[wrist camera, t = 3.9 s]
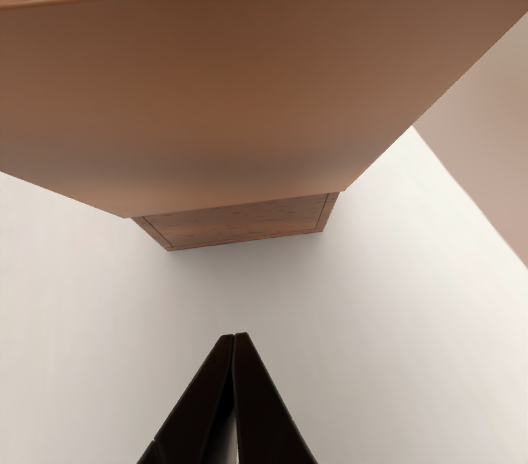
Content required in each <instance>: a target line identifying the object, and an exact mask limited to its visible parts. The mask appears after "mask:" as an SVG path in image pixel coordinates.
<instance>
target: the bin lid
mask: <svg viewBox="0 0 528 464" xmlns="http://www.w3.org/2000/svg"><path fill="white" fill-rule="evenodd" d="M527 11H528V0H0V171H1V172H3V173H6V174H9V175H11V176H14V177H16V178H19V179H22V180H24V181H27V182H30V183H32V184H35V185H38V186H40V187H43V188H45V189H48V190H51V191H53V192H56V193H59V194H61V195H64V196H66V197H69V198H72V199H74V200H77V201H80V202H82V203H85V204H87V205H90V206H93V207H95V208H98V209H101V210H103V211H106V212H109V213H111V214H114V215H116V216H119V217H122V218H131V217H139V216H148V215H156V214H164V213H172V212H180V211H188V210H196V209H204V208H212V207H220V206H228V205H236V204H244V203H252V202H260V201H268V200H276V199H284V198H292V197H300V196H308V195H316V194H324V193H332V192H340V191H345V190H346V189H347V188H348V187H349V186H350V185H351V184H352V183H353V182H354V181H355V180H356V179H357V178H358V177H359V176H360V175H361V174H362V173H363V172H364V171H365V170H366V169H367V168H368V167H369V166H370V165H371V164H372V163H373V162H374V161H375V160H376V159H377V158H378V157H379V156H381V155H382V154H383V153H384V152H385V151H386V150H387V149H388V148H389V147H390V146H391V145H392V144H393V143H394V142H395V141H396V140H397V139H398V138H399V137H400V136H401V135H402V134H403V133H404V132H405V131H406V130H407V129H408V128H409V127H410V126H411V125H412V124H413V123H414V122H415V121H416V120H417V119H418V118H419V117H420V116H421V115H422V114H423V113H424V112H425V111H426V110H427V109H428V108H430V107H431V105H433V103H435V102H436V101H437V100H438V99H439V98H440V97H441V96H442V95H443V94H444V93H445V92H446V91H447V90H448V89H449V88H450V87H451V86H452V85H453V84H454V83H455V82H456V81H457V80H458V79H459V78H460V77H461V76H462V75H463V74H464V73H465V72H466V71H467V70H468V69H469V68H470V67H471V66H472V65H473V64H474V63H475V62H476V61H477V60H478V59H480V58H481V57H482V55H484V54H485V53H486V52H487V50H489V49H490V48H491V47H492V46H493V45H494V44H495V43H496V42H497V41H498V40H499V39H500V38H501V37H502V36H503V35H504V34H505V33H506V32H507V31H508V30H509V29H510V28H511V27H512V26H513V25H514V24H515V23H516V22H517V21H518V20H519V19H520V18H521V17H522V16H523V15H524V14H525V13H527Z"/></svg>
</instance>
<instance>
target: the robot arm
mask: <svg viewBox="0 0 528 464" xmlns="http://www.w3.org/2000/svg"><path fill="white" fill-rule="evenodd" d="M237 443H238V455H239V464H318V463H317V461H316V460H315V458H314V457H313V455H312V453H311V451H310V450H309V448H308V446H307V444H306V443H305V441H304V439H303V437H302V436H301V434H300V432H299V430H298V428H297V426H296V424H295V422H294V421H293V420H292V417H291V415H290V413H289V411H288V409H287V407H286V406H285V404H284V402H283V400H282V398H281V396H280V394H279V392H278V390H277V388H276V386H275V384H274V383H273V381H272V379H271V377H270V375H269V373H268V371H267V369H266V367H265V365H264V363H263V362H262V360H261V358H260V356H259V354H258V352H257V350H256V348H255V346H254V344H253V342H252V341H251V339H250V337H249V335H248V333H247V332H243V333H236V334H235V335H233V334H228V335H222V336H221V337H220V338H219V340H218V341H217V343H216V344H215V346H214V347H213V349H212V350H211V352H210V353H209V355H208V356H207V358H206V359H205V361H204V362H203V364H202V365H201V367H200V368H199V370H198V372H197V373H196V375H195V376H194V378H193V379H192V381H191V382H190V384H189V385H188V387H187V388H186V390H185V391H184V393H183V394H182V396H181V397H180V399H179V400H178V402H177V403H176V405H175V407H174V408H173V410H172V411H171V413H170V414H169V416H168V417H167V419H166V420H165V422H164V423H163V425H162V426H161V428H160V429H159V431H158V432H157V434H156V435H155V437H154V441H151V443H150V444H149V446H148V447H147V449H146V450H145V452H144V453H143V455H142V457H141V458H140V459H139V461H138V462H137V464H236V455H237Z"/></svg>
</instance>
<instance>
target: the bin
mask: <svg viewBox="0 0 528 464" xmlns="http://www.w3.org/2000/svg"><path fill="white" fill-rule="evenodd" d="M339 193H340V192H332V193H324V194H316V195H308V196H300V197H292V198H284V199H276V200H268V201H260V202H252V203H244V204H236V205H228V206H220V207H212V208H204V209H196V210H188V211H180V212H172V213H164V214H156V215H148V216H139V217H131V219H132V220H133V221H135V222H136V223H137V224H138V225H139V226H140V227H141V228H142V229H143V230H145V231H146V232H147V233H148V234H149V235H150V236H151V237H152V238H153V239H155V240H156V241H157V242H158V243H159V244H160V245H161V246H162V247H163V248H164V249H166V250H167V251H172V250H180V249H187V248H195V247H203V246H211V245H219V244H226V243H234V242H242V241H250V240H258V239H266V238H273V237H281V236H289V235H297V234H305V233H312V232H320V231H323V229H324V227H325V224H326V222H327V220H328V218H329V215H330V213H331V211H332V209H333V206H334V204H335V202H336V200H337V197H338V195H339Z"/></svg>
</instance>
